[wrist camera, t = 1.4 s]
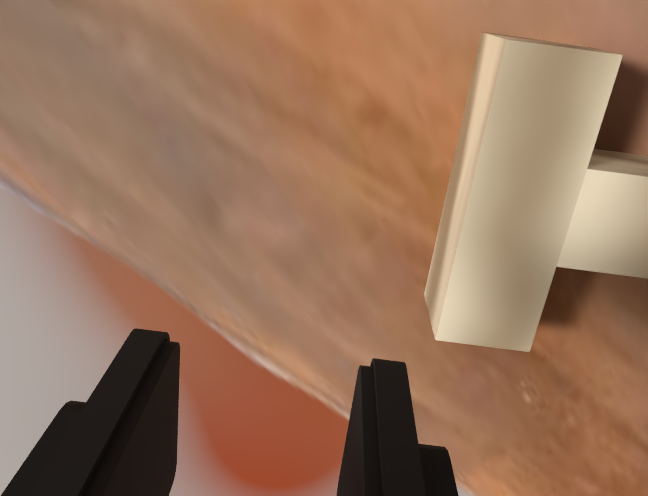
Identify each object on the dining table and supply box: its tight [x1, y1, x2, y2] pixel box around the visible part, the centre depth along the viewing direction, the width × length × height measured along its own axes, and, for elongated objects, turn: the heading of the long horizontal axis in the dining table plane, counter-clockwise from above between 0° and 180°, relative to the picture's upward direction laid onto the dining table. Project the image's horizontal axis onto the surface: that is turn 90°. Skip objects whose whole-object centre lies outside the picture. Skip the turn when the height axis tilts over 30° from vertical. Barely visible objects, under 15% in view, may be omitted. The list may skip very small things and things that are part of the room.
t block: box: [424, 32, 648, 352], centre depth 24 cm, size 12×12×4 cm
